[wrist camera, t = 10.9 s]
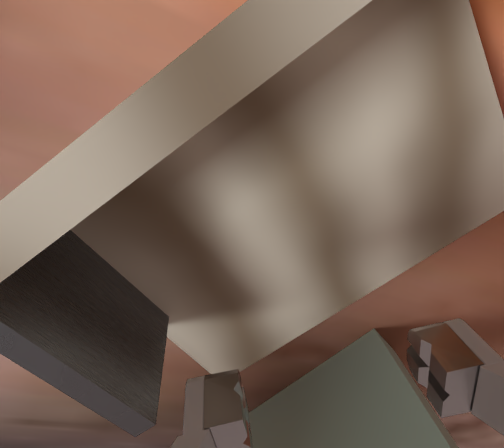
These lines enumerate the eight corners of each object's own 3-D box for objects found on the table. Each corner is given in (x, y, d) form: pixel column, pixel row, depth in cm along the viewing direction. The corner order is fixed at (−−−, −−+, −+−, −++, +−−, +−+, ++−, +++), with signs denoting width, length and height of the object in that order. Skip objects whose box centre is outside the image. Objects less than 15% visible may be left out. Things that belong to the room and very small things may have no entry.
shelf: (220, 363, 22) (232, 551, 14) (25, 191, 16) (-179, 345, 7) (504, 187, 19) (744, 288, 11) (405, -113, 13) (806, -453, 4)
